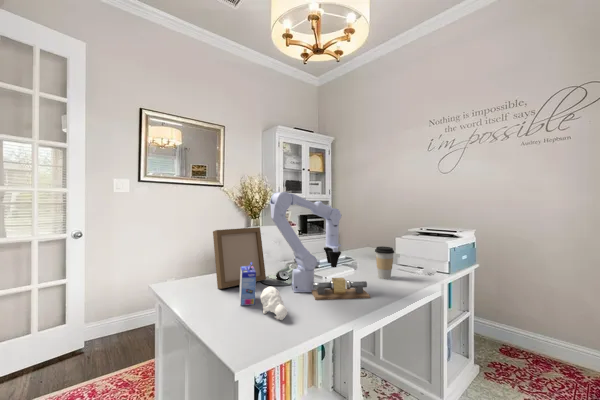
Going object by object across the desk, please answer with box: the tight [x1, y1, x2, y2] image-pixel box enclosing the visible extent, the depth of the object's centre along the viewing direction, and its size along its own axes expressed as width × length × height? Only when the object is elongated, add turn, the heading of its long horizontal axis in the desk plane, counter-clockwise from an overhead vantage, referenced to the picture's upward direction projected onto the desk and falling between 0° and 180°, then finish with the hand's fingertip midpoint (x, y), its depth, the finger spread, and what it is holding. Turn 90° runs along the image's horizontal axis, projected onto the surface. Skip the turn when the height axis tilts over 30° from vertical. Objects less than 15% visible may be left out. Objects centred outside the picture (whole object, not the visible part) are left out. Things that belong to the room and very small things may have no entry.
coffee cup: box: [374, 245, 395, 280], centre depth 138 cm, size 9×9×15 cm
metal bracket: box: [268, 265, 297, 285], centre depth 134 cm, size 14×6×15 cm
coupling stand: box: [311, 279, 371, 301], centre depth 112 cm, size 22×9×6 cm, turn 97°
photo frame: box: [212, 226, 267, 289], centre depth 128 cm, size 15×22×25 cm
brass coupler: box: [331, 277, 347, 294], centre depth 112 cm, size 5×4×6 cm
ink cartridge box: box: [238, 262, 257, 307], centre depth 104 cm, size 10×6×14 cm, turn 15°
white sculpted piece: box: [259, 286, 288, 321], centre depth 92 cm, size 6×8×12 cm
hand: (331, 265), depth 123 cm, fingers open, 7 cm apart
